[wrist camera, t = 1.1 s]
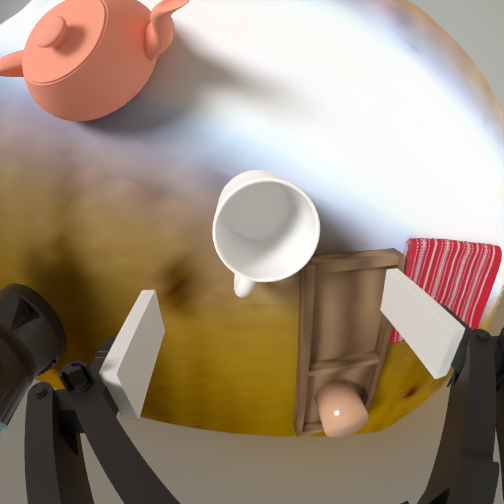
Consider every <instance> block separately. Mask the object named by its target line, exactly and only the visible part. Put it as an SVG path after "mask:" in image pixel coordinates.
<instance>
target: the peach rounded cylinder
mask: <svg viewBox="0 0 504 504" xmlns="http://www.w3.org/2000/svg"><path fill="white" fill-rule="evenodd" d="M314 399H315V403H316V406H317V409H318V412H319V416H320V419H321V422H322V425H323V428H324V431H325V434H326V435H327V436H329V437H334V438H336V437H343V436H347V435H350V434H352V433H354V432H356V431H358V430H359V429H360V428H362V427H363V426H364V425H365V424H366V422H367V421H368V418H369V415H368V413H367V411H366V409H365V407H364V405H363V402H362V400H361V398H360V396H359V394H358V392H357V390H356V388H355V386H354V384H353V382H352V381H350V380H347V379H339V380H334V381H331V382H329V383H327V384H325V385H324V386H322V387H321V388H320V389H319V390H318V391H317V393H316V394H315V397H314Z"/></svg>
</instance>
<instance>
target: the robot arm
mask: <svg viewBox="0 0 504 504" xmlns="http://www.w3.org/2000/svg"><path fill="white" fill-rule="evenodd" d="M380 310H381V311H382V312H383V314H384V315H385V316H386V317H387V319H388V320H389V321H390V322H391V323H392V325H393V326H394V327H395V328H396V330H397V331H398V332H399V333H400V335H401V336H402V337H403V338H404V340H405V341H406V342H407V343H408V345H409V346H410V347H411V349H412V350H413V351H414V352H415V354H416V355H417V356H418V358H419V359H420V360H421V361H422V363H423V364H424V365H425V367H426V368H427V369H428V371H429V372H430V373H431V375H432V376H433V377H434V379H438V378H440V377H443V376H445V375H447V373H448V371H449V368H450V366H452V367H453V368H454V372H453V374H452V376H451V378H450V380H449V383H448V385H447V387H449V385H450V384H451V388H450V395H449V402H448V408H447V413H446V418H445V424H444V428H443V432H442V437H441V441H440V445H439V449H438V453H437V456H436V460H435V463H434V467H433V470H432V473H431V476H430V479H429V482H428V485H427V488H426V490H425V492H424V494H423V495H422V497H421V498H420V500H419V501H418V503H417V504H493V502H494V498H495V492H496V487H497V482H498V476H499V463H498V462H493V451H494V442H495V428H496V432H497V439H498V445H499V453H500V462H501V474H502V490H503V500H504V328H502V330H501V333H500V335H499V336H491V335H490V334H489V333H488V332H487V331H485V330H482V329H473V330H472V329H471V328H470V327H469V326H468V325H467V324H466V323H465V322H463V321H462V320H461V319H460V318H459V317H457V315H456V314H455V313H453V312H452V311H451V310H450V309H449V308H448V307H447V306H445V305H443V304H441V303H437V302H436V301H435V300H434V299H433V298H432V297H430V296H429V295H428V294H427V293H426V292H425V291H424V290H422V289H421V288H420V287H419V286H418V285H417V284H415V283H414V282H413V281H412V280H411V279H409V278H408V277H407V276H406V275H405V274H403V273H402V272H401V271H400V270H399V269H397V268H395V269H387V270H386V277H385V284H384V291H383V297H382V303H381V309H380ZM164 333H165V329H164V325H163V321H162V317H161V313H160V309H159V304H158V300H157V296H156V291H155V290H142V292H141V294H140V295H139V297H138V299H137V301H136V302H135V304H134V306H133V308H132V310H131V311H130V313H129V315H128V317H127V319H126V321H125V322H124V324H123V326H122V328H121V330H120V332H119V334H118V335H117V337H109V338H108V339H106V340H105V341H104V342H103V343H102V344H101V346H100V348H99V349H98V352H97V353H96V355H95V358H93V360H92V362H91V364H90V366H89V367H88V365H87V364H86V363H85V362H83V361H72V362H69V363H68V364H66V365H64V366H63V367H62V368H61V370H60V372H59V378H60V379H61V381H62V383H63V385H64V386H65V388H66V389H61V390H54V389H53V387H52V386H51V385H50V384H49V383H47V382H40V383H37V384H35V385H34V386H32V387H31V389H30V390H29V392H28V397H27V407H26V420H25V421H26V422H25V477H26V489H27V499H28V504H94V501H93V497H92V493H91V489H90V485H89V481H88V477H87V472H86V467H85V462H84V457H83V451H82V445H81V438H80V433H85V434H86V436H87V438H88V441H89V443H90V445H91V447H92V449H93V451H94V453H95V455H96V456H97V458H98V460H99V462H100V464H101V466H102V468H103V469H104V471H105V473H106V475H107V476H108V478H109V480H110V482H111V483H112V485H113V486H114V488H115V489H116V491H117V493H118V494H119V496H120V497H121V499H122V500H123V502H124V503H125V504H180V503H179V502H178V500H177V499H176V498H175V497H174V496H173V495H172V494H171V493H170V491H169V490H168V489H167V488H166V487H165V486H164V484H163V483H162V482H161V481H160V479H159V478H158V477H157V476H156V474H155V473H154V472H153V471H152V469H151V468H150V467H149V465H148V464H147V463H146V461H145V460H144V459H143V457H142V456H141V454H140V453H139V452H138V450H137V449H136V447H135V446H134V444H133V443H132V441H131V440H130V438H129V437H128V436H127V434H126V432H125V431H124V429H123V428H122V426H121V425H120V423H119V421H118V420H117V418H116V415H117V413H118V410H119V412H120V414H121V415H122V417H123V418H126V419H137V420H139V419H140V415H141V411H142V408H143V404H144V400H145V397H146V393H147V390H148V386H149V383H150V379H151V376H152V372H153V369H154V366H155V362H156V359H157V356H158V352H159V349H160V346H161V343H162V339H163V336H164ZM65 345H66V344H65V336H64V333H63V330H62V327H61V325H60V323H59V321H58V319H57V317H56V316H55V314H54V313H53V311H52V310H51V308H50V307H49V306H48V305H47V303H46V302H45V301H44V300H43V299H42V298H41V297H40V296H39V295H37V294H36V293H35V292H34V291H32V290H31V289H29V288H27V287H25V286H23V285H20V284H9V285H7V286H5V287H4V288H3V289H2V290H1V291H0V436H1V434H2V433H3V431H4V430H5V429H7V427H8V424H9V422H10V420H11V418H12V416H13V414H14V412H15V411H16V409H17V407H18V405H19V404H20V402H21V400H22V398H23V397H24V395H25V393H26V391H27V390H28V388H29V386H30V385H31V383H32V382H33V380H34V379H36V378H37V377H39V376H40V375H42V374H43V373H45V372H46V371H48V370H50V369H51V368H53V367H54V366H55V365H56V364H57V363H58V362H59V360H60V359H61V357H62V356H63V354H64V352H65ZM401 504H409V503H408V501H406V502H404V503H401Z"/></svg>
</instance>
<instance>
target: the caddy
mask: <svg viewBox="0 0 504 504" xmlns="http://www.w3.org/2000/svg"><path fill="white" fill-rule="evenodd" d="M405 258H406V256H405V255H403V254H402V253H400V252H399V251H397V250H396V249H394V248H391V249H380V250H369V251H358V252H347V253H336V254H324V255H313V256H312V257H311V259H310V260H309V261H308V262H307V264H306V265H305V266H304V267H303V268H302V269H300V301H299V335H298V359H297V378H296V394H295V409H294V422H293V424H294V429H295V433H296V436H300V435H306V434H312V433H317V432H322V431H324V428H323V425H322V422H321V419H320V416H319V412H318V409H317V406H316V403H315V399H314V397H315V394H316V393H317V391H318V390H319V389H320V388H321V387H322V386H324V385H325V384H327V383H329V382H331V381H334V380H339V379H347V380H350V381H352V382H353V384H354V386H355V388H356V390H357V392H358V394H359V396H360V398H361V400H362V402H363V405H364V407H365V409H366V411H367V412H368V410H369V407H370V404H371V401H372V398H373V395H374V392H375V389H376V386H377V383H378V380H379V377H380V373H381V370H382V367H383V363H384V360H385V356H386V352H387V349H388V345H389V341H390V337H391V333H392V329H393V325H392V323H391V322H390V321H389V320H388V319H387V317H386V316H385V315H384V314H383V312H382V311H381V310H380V309H381V303H382V297H383V291H384V284H385V277H386V270H387V269H395V268H397V269H399V270H400V271H401V272H402V273H403V272H404V265H405Z"/></svg>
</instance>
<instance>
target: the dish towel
mask: <svg viewBox="0 0 504 504" xmlns="http://www.w3.org/2000/svg"><path fill="white" fill-rule="evenodd" d="M404 255H405V256H406V258H405V265H404V272H403V274H405V275H406V276H407V277H408V278H409V279H411V280H412V281H413V282H414V283H415V284H417V285H418V286H419V287H420V288H421V289H422V290H424V291H425V292H426V293H427V294H428V295H429V296H430V297H432V298H433V299H434V300H435V301H436V302H437V303H441V304H443V305H445V306H447V307H448V308H449V309H450V310H451V311H452V312H453V313H455V314H456V315H457V317H459V318H460V319H461V320H462V321H463V322H465V323H466V324H467V325H468V326H469V327H470V328H471V329H476V328H478V326H479V322H480V319H481V316H482V314H483V311H484V308H485V306H486V303H487V301H488V298H489V295H490V293H491V290H492V287H493V284H494V281H495V278H496V275H497V272H498V270H499V266H500V263H501V257H502V251H501V248H500V247H499V246H494V245H490V244H483V243H482V244H481V243H471V242H467V241H464V242H463V241H457V240H448V239H434V238H433V239H428V238H426V239H424V238H418V239H416V238H414V239H409V240H408V241H407V242H406V246H405V251H404ZM401 341H404V338H403V337H402V336H401V335H400V333H399V332H398V331H397V330H396V328H395V327H394V326H393V329H392V333H391V337H390V341H389V344H393V343H397V342H401Z"/></svg>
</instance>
